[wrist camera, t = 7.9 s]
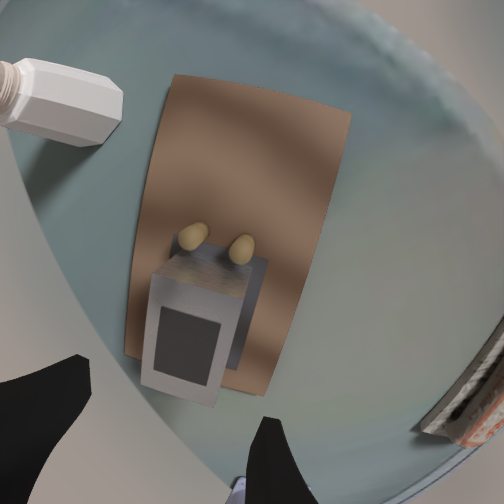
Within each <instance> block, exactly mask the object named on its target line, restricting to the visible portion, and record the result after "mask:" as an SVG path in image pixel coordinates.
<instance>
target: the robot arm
mask: <svg viewBox="0 0 504 504" xmlns="http://www.w3.org/2000/svg"><path fill="white" fill-rule="evenodd" d="M90 396H91V382H90V368H89V359H87V358H84V357H82V356H80V355H78V354H76V355H74V356H71V357H69V358H67V359H65V360H62V361H60V362H58V363H55V364H53V365H51V366H48V367H46V368H44V369H41V370H39V371H37V372H34V373H31V374H28V375H25V376H22V377H19V378H16V379H13V380H9V381H6V382H1V383H0V504H27V502H28V499H29V496H30V494H31V491H32V489H33V487H34V484H35V482H36V480H37V478H38V476H39V474H40V472H41V470H42V468H43V466H44V464H45V462H46V460H47V458H48V457H49V455H50V453H51V452H52V450H53V449H54V447H55V446H56V444H57V443H58V442H59V440H60V439H61V438H62V436H63V435H64V434H65V433H66V431H67V430H68V429H69V428H70V426H71V425H72V424H73V423H74V421H75V420H76V419H77V417H78V416H79V415H80V413H81V412H82V410H83V409H84V407H85V405H86V404H87V402H88V400H89V398H90ZM225 504H318V502H317V501H316V499H315V498H314V496H313V495H312V493H311V487H309V486H307V485H306V483H305V481H304V479H303V477H302V475H301V473H300V471H299V469H298V467H297V465H296V463H295V460H294V458H293V456H292V453H291V451H290V448H289V446H288V443H287V440H286V437H285V434H284V431H283V427H282V424H281V421H280V420H279V419H275V418H270V417H265V416H264V417H263V419H262V421H261V424H260V426H259V428H258V431H257V433H256V435H255V437H254V440H253V442H252V444H251V447H250V452H249V457H248V463H247V468H246V478H244V477H240V478H238V480H237V482H236V484H235V486H234V488H233V490H232V492H231V494H230V496H229V498H228V500H227V502H226V503H225Z"/></svg>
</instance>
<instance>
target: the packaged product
mask: <svg viewBox="0 0 504 504" xmlns="http://www.w3.org/2000/svg"><path fill="white" fill-rule="evenodd" d="M503 424H504V318H503V320H502V321H501V323H500V324H499V326H498V327H497V329H496V330H495V332H494V333H493V335H492V336H491V338H490V339H489V340H488V342H487V343H486V345H485V346H484V347H483V349H482V350H481V351H480V353H479V354H478V355H477V357H476V358H475V359H474V360H473V362H472V363H471V364H470V366H469V367H468V368H467V369H466V371H465V372H464V373H463V374H462V376H461V377H460V378H459V379H458V380H457V382H456V383H455V384H454V385H453V386H452V388H451V389H450V390H449V391H448V392H447V394H446V395H445V396H444V397H443V398H442V399H441V400H440V402H439V403H438V404H437V405H436V406H435V407H434V408H433V409H432V410H431V411H430V413H429V414H428V415H427V416H426V417H425V418H424V419H423V420H422V421H421V422H420V426H421V431H422V432H426V433H429V434H434V435H438V436H443V437H448V438H449V439H450V441H451V442H452V444H456V445H458V446H461V447H463V448H464V449H469V448H471V447H475V446H480V445H482V444H484V443H485V442H486V441H487V440H489V439H490V437H491V436H493V435H494V434H495V433H496V432H497V431H498V430H499V429H500V428H501V427H502V425H503Z"/></svg>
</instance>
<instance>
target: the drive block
mask: <svg viewBox="0 0 504 504" xmlns="http://www.w3.org/2000/svg"><path fill="white" fill-rule="evenodd" d="M251 271H252V267H248V266H245V265H240V264H236V263H234V262H230V261H226V260H223V259H219V258H215V257H212V256H208V255H204V254H201V253H197V252H193V251H190V250H185V249H182V250H181V251H179V252H178V253H177V254H176V255H174V256H173V257H172V258H171V259H169V260H168V261H167V262H165V263H164V264H163V265H162V266H160V267H159V268H158V269H157V270H155V271H154V272H153V273H152V278H151V285H150V292H149V300H148V308H147V316H146V325H145V335H144V345H143V356H142V369H141V385H144V386H147V387H150V388H152V389H155V390H158V391H161V392H164V393H167V394H170V395H173V396H176V397H179V398H182V399H185V400H188V401H192V402H195V403H198V404H202V405H205V406H209V407H212V408H214V407H215V403H216V400H217V396H218V392H219V389H220V385H221V381H222V378H223V374H224V371H225V367H226V363H227V360H228V356H229V352H230V349H231V345H232V341H233V338H234V334H235V330H236V327H237V323H238V319H239V316H240V312H241V308H242V305H243V301H244V297H245V294H246V290H247V286H248V283H249V279H250V275H251Z"/></svg>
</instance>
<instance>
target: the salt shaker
mask: <svg viewBox="0 0 504 504" xmlns="http://www.w3.org/2000/svg"><path fill="white" fill-rule="evenodd" d="M122 102H123V92H122V91H121V90H120V89H119V88H118V87H117V86H116V85H115V84H114V83H113V82H112V81H111V80H110V79H109V78H108V77H105V76H101V75H98V74H94V73H91V72H87V71H83V70H80V69H76V68H72V67H68V66H64V65H60V64H55V63H51V62H46V61H42V60H37V59H30V58H25V59H23V60H21V61H19V62H17V63H15V64H13V65H11V64H10V63H7V62H3V61H0V126H2V127H5V128H8V129H12V130H16V131H20V132H24V133H28V134H32V135H36V136H40V137H44V138H48V139H51V140H55V141H59V142H62V143H66V144H70V145H73V146H77V147H85V146H92V145H98V144H103V143H104V142H105V140H106V139H107V138H108V136H109V135H110V134H111V133H112V131H113V130H114V129H115V128H116V127H117V125H118V124H119V123H120V122H121V117H122Z"/></svg>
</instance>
